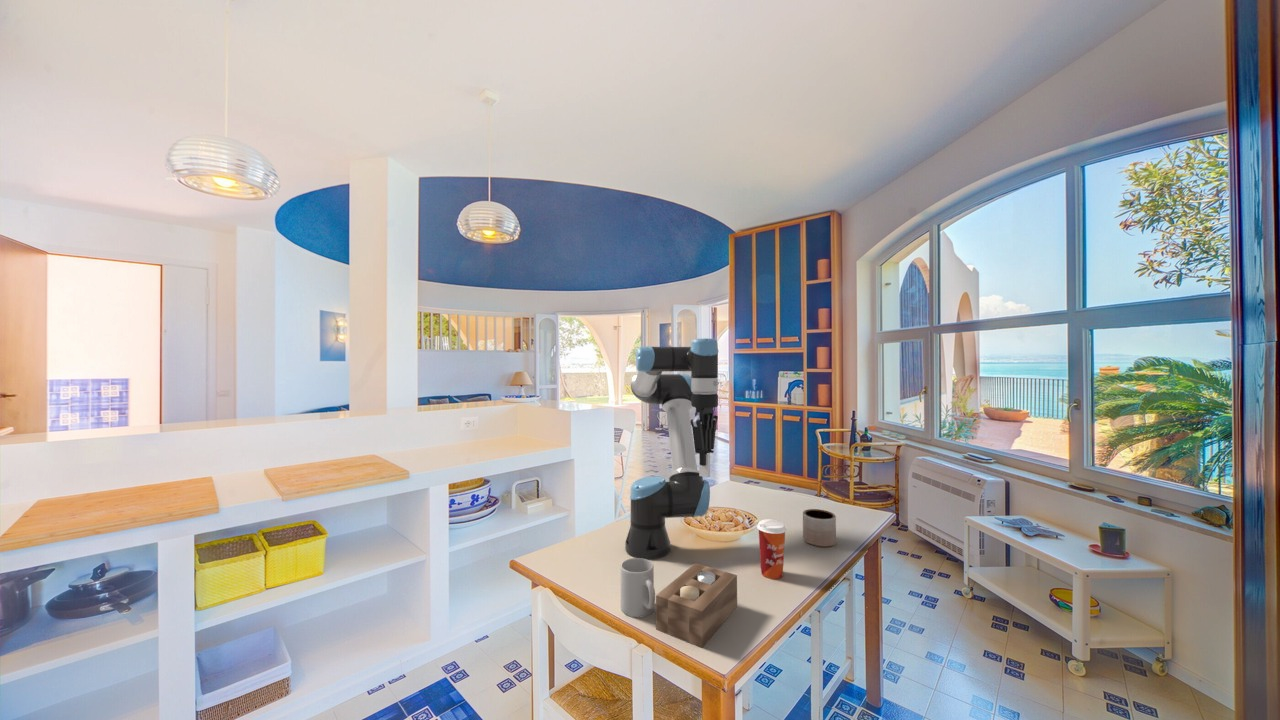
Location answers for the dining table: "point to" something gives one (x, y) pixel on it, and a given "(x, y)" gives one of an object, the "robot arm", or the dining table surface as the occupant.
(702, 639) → the walnut socket block
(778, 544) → the coffee cup
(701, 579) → the aluminium peg
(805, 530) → the planter
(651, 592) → the mug
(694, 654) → the dining table surface
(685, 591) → the beech peg
